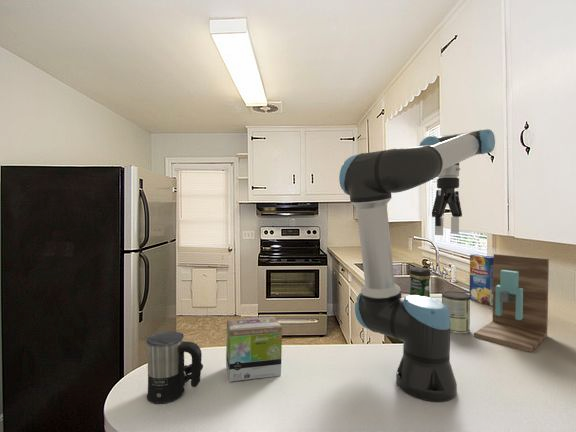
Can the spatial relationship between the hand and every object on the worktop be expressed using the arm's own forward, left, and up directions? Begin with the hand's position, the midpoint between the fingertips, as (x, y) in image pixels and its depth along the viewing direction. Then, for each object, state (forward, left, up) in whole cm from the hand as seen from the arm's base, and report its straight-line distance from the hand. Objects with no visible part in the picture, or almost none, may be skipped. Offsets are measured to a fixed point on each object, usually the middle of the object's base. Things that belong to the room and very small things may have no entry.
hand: (447, 234), depth 124 cm
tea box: (-71, +25, -39) cm, 85 cm away
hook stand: (+19, -16, -39) cm, 46 cm away
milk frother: (-92, +32, -39) cm, 104 cm away
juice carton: (+64, +8, -39) cm, 75 cm away
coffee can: (+11, +1, -39) cm, 40 cm away
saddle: (+16, -16, -30) cm, 38 cm away
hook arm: (+19, -16, -24) cm, 34 cm away
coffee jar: (+34, +28, -39) cm, 59 cm away
